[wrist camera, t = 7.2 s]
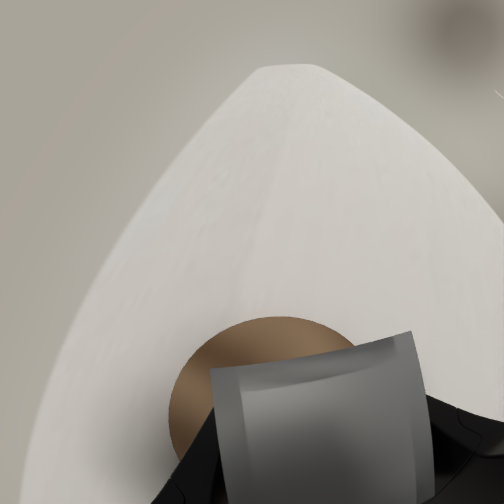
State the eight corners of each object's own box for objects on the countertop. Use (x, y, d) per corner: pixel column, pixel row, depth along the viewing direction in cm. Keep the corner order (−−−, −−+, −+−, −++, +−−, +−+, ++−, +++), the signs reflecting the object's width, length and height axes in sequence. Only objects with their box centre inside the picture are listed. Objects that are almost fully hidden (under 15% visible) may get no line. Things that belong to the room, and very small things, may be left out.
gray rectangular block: (332, 452, 12) (434, 496, 3) (245, 467, 12) (239, 554, 3) (319, 374, 14) (410, 330, 6) (233, 388, 14) (209, 368, 6)
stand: (285, 532, 11) (295, 564, 7) (136, 416, 15) (102, 417, 11) (405, 392, 16) (444, 385, 12) (266, 286, 21) (271, 252, 17)
